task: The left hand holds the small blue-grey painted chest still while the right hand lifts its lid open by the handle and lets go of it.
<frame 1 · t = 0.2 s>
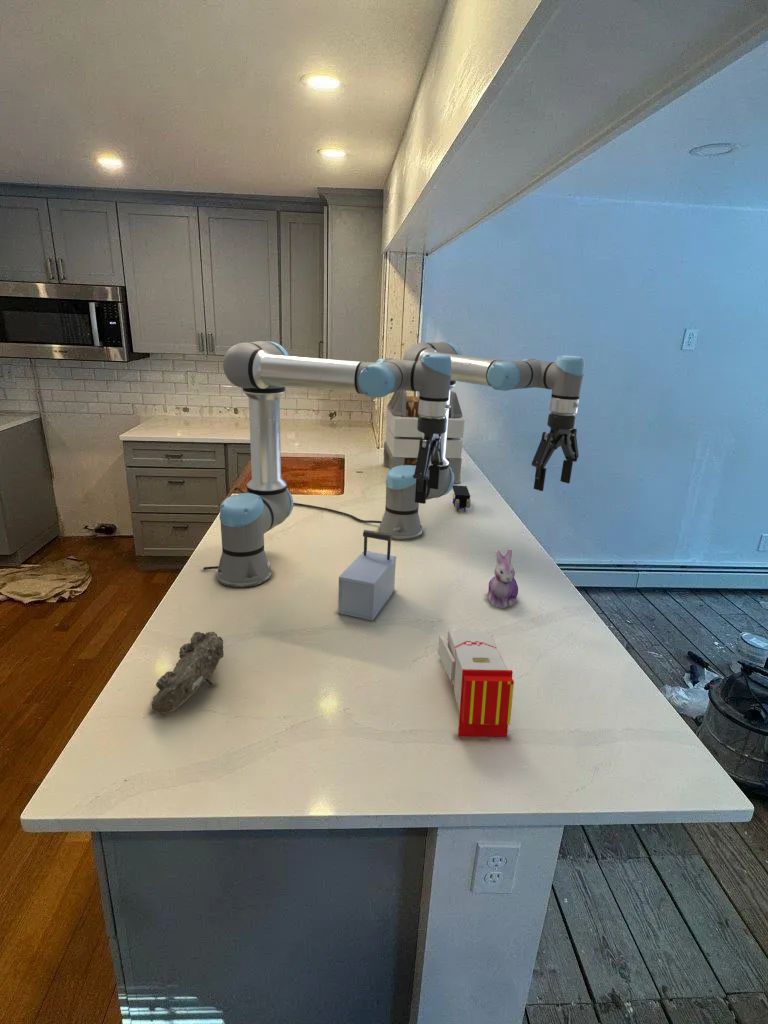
left hand: (427, 495, 152), 28 cm above the counter, tool pointing down, fingers open, 13 cm apart
right hand: (551, 486, 166), 28 cm above the counter, tool pointing down, fingers open, 13 cm apart
light grey slatted box: (419, 473, 275), on the counter
toy: (469, 691, 119), on the counter
figurine: (502, 601, 156), on the counter
figurine character: (460, 507, 229), on the counter
fossil: (194, 683, 117), on the counter
chest: (367, 601, 153), on the counter
lid: (369, 554, 149), point 14 cm above the counter, hinge at 0.0°
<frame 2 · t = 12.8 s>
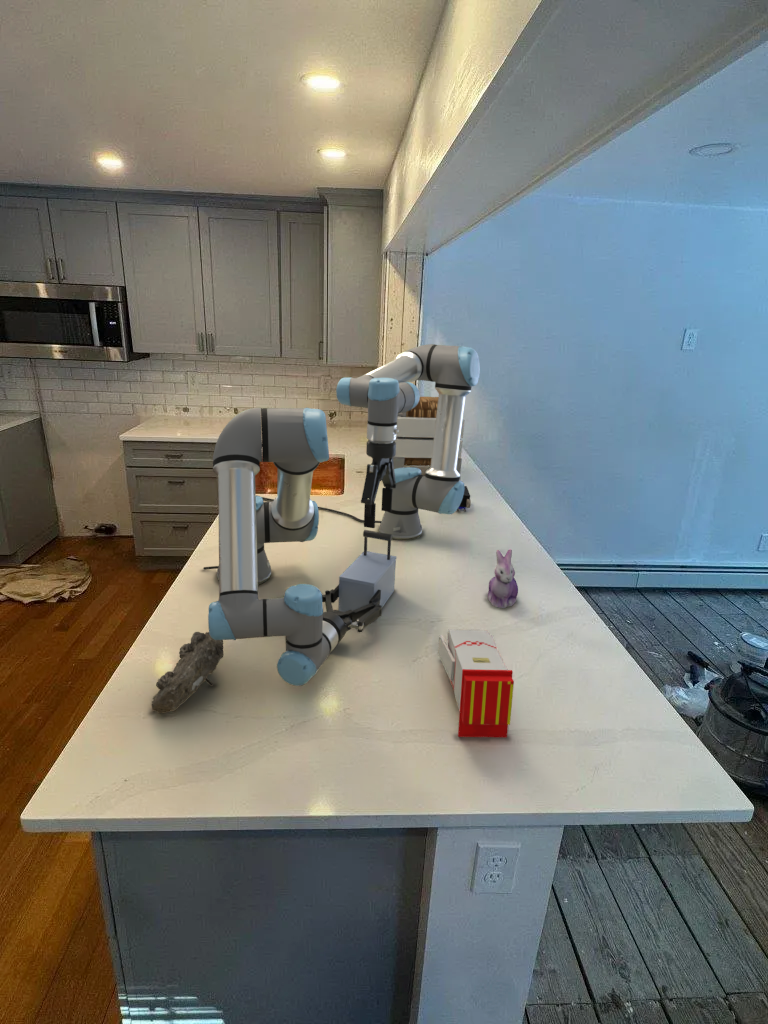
left hand: (360, 590, 146), 6 cm above the counter, tool horizontal, fingers closed on chest, 9 cm apart
right hand: (378, 518, 151), 22 cm above the counter, tool pointing down, fingers open, 13 cm apart
chest: (367, 601, 153), on the counter, touching left hand
everything else where it was.
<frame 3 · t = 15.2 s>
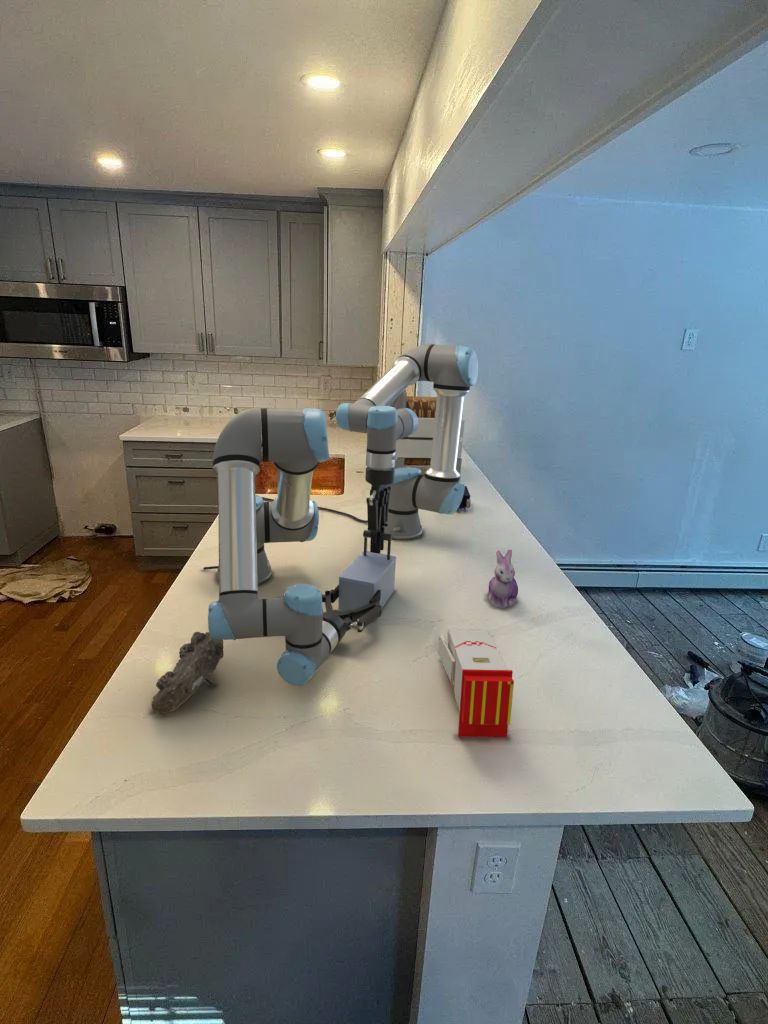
left hand: (360, 590, 146), 6 cm above the counter, tool horizontal, fingers closed on chest, 9 cm apart
right hand: (376, 550, 154), 12 cm above the counter, tool pointing down, fingers closed on lid, 2 cm apart
chest: (367, 601, 153), on the counter, touching left hand
lid: (369, 554, 149), point 14 cm above the counter, hinge at -0.1°, touching right hand
everything else where it was.
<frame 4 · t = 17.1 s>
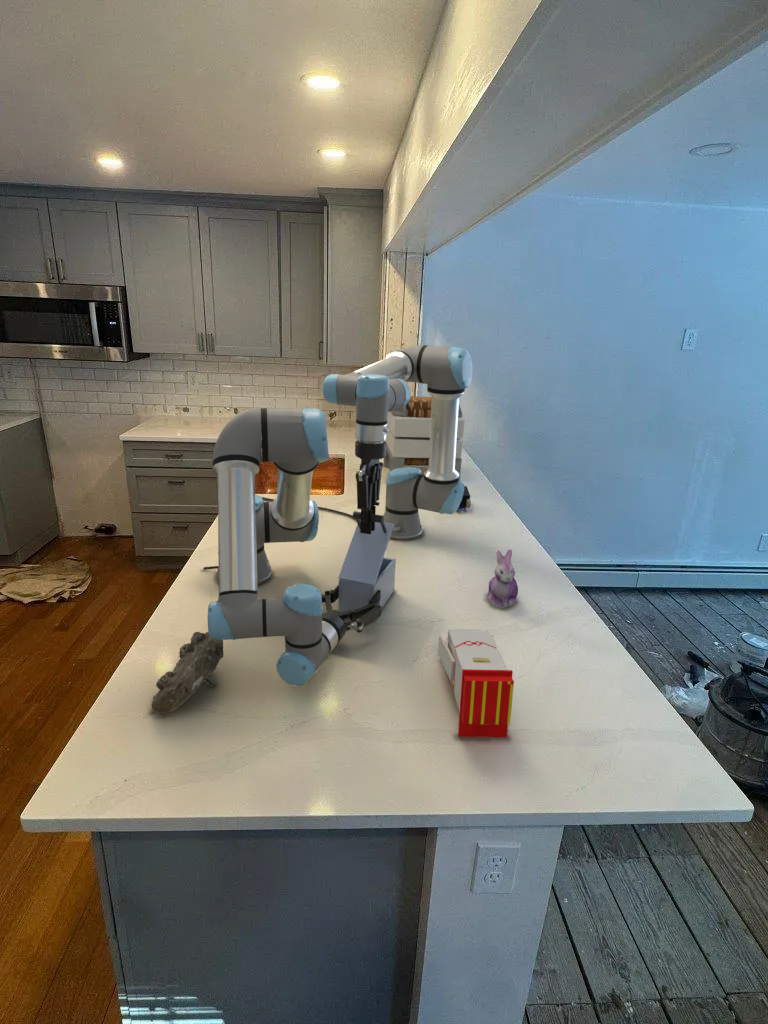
left hand: (360, 591, 146), 6 cm above the counter, tool horizontal, fingers closed on chest, 9 cm apart
right hand: (367, 531, 144), 21 cm above the counter, tool pointing down, fingers closed on lid, 2 cm apart
chest: (367, 601, 153), on the counter, touching left hand
lid: (363, 543, 143), point 19 cm above the counter, hinge at 38.9°, touching right hand
everything else where it was.
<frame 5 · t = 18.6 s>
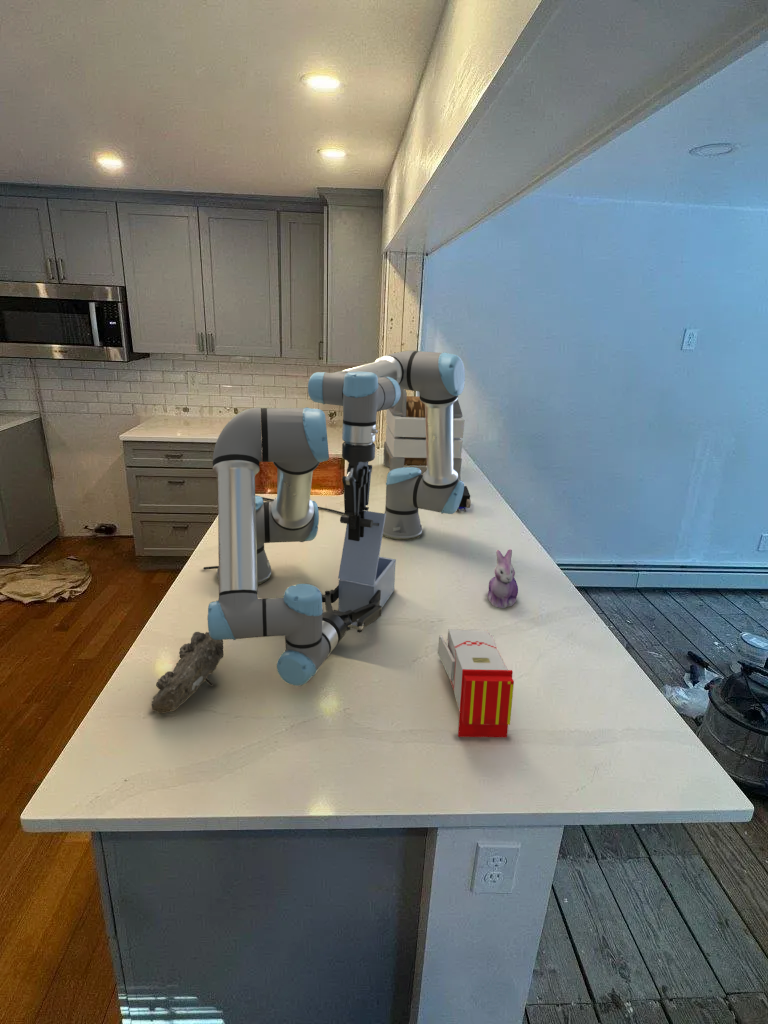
left hand: (360, 591, 146), 6 cm above the counter, tool horizontal, fingers closed on chest, 9 cm apart
right hand: (356, 537, 137), 22 cm above the counter, tool pointing down, fingers open, 2 cm apart
chest: (367, 601, 153), on the counter, touching left hand
lid: (356, 546, 138), point 20 cm above the counter, hinge at 68.1°
everything else where it was.
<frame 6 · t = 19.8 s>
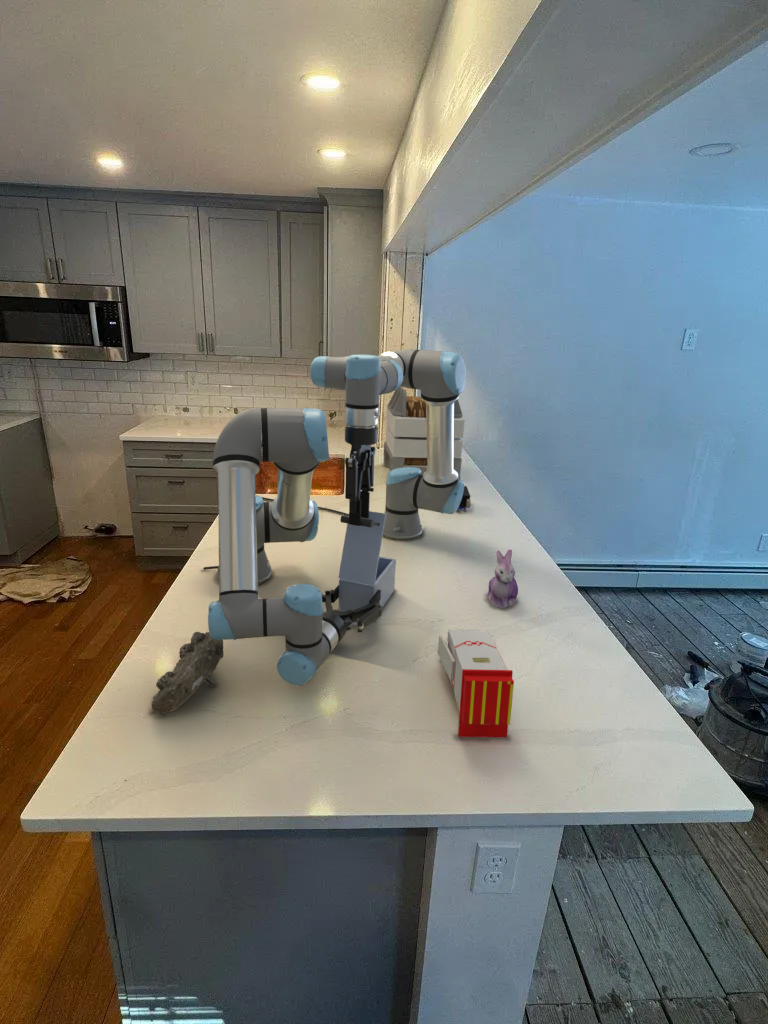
left hand: (360, 590, 146), 6 cm above the counter, tool horizontal, fingers closed on chest, 9 cm apart
right hand: (359, 520, 137), 26 cm above the counter, tool pointing down, fingers open, 5 cm apart
chest: (367, 601, 153), on the counter, touching left hand
lid: (357, 546, 138), point 20 cm above the counter, hinge at 67.6°, touching right hand
everything else where it was.
when the left hand's fingers open (6 cm above the counter, at t = 22.7 s): chest stays where it is, on the counter.
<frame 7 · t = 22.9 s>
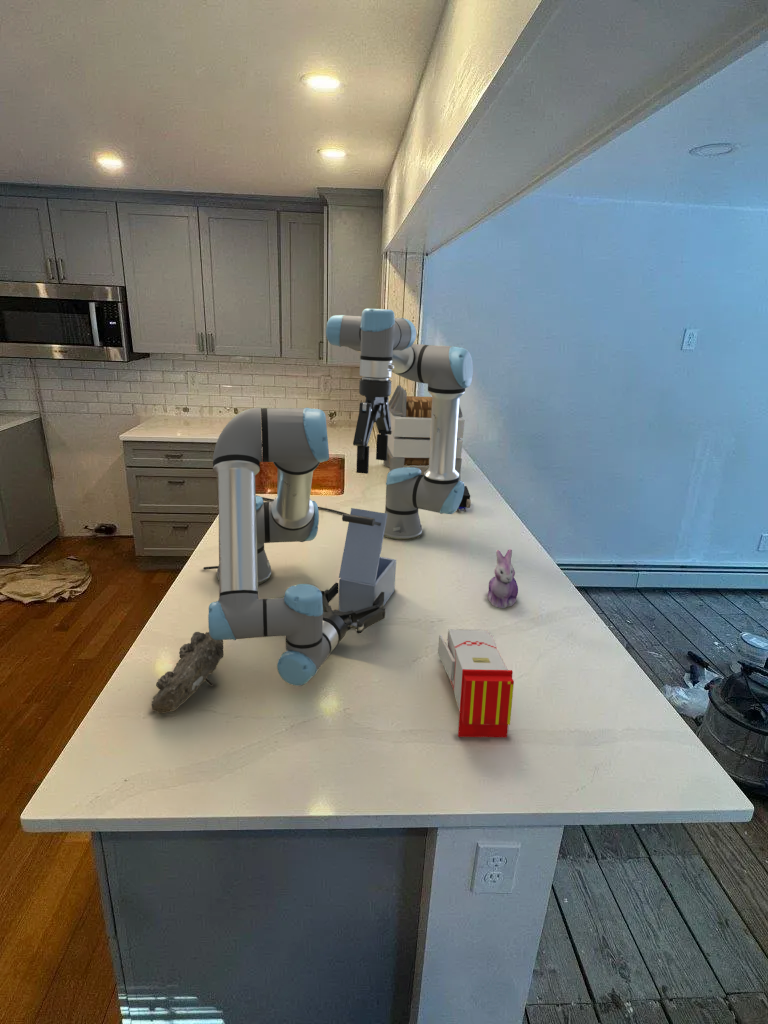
left hand: (359, 591, 145), 6 cm above the counter, tool horizontal, fingers open, 12 cm apart
right hand: (372, 466, 140), 38 cm above the counter, tool pointing down, fingers open, 13 cm apart
chest: (367, 601, 153), on the counter
lid: (358, 545, 139), point 20 cm above the counter, hinge at 66.0°
everything else where it was.
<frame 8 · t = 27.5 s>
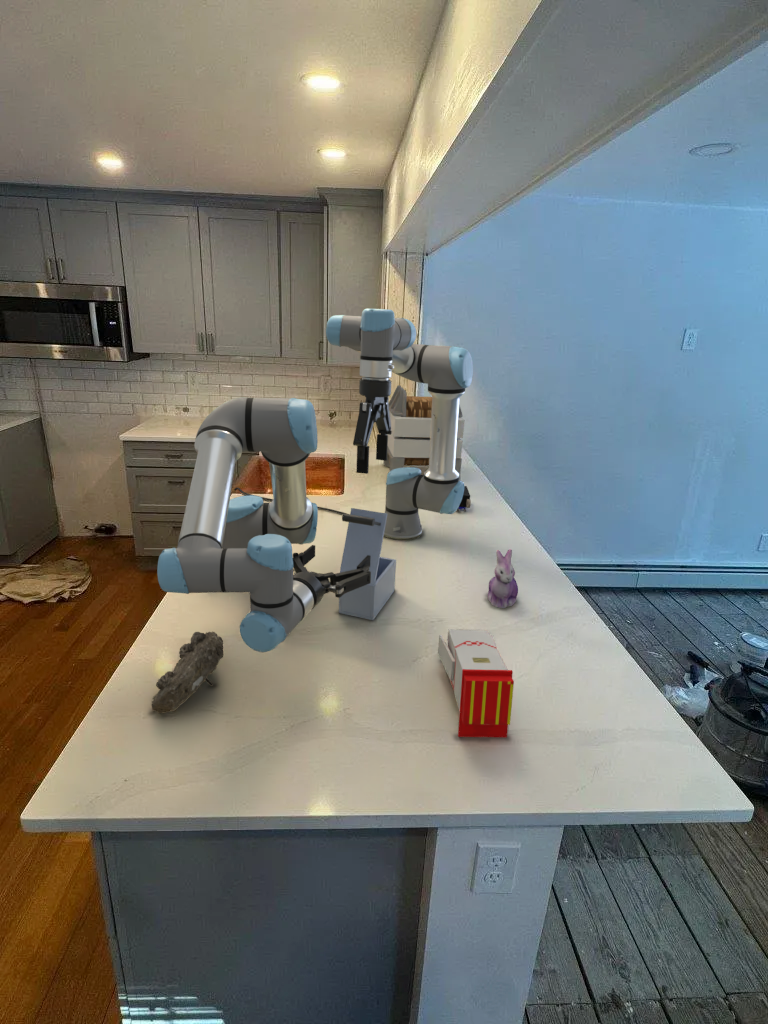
left hand: (341, 555, 129), 21 cm above the counter, tool horizontal, fingers open, 13 cm apart
right hand: (372, 466, 140), 38 cm above the counter, tool pointing down, fingers open, 13 cm apart
nothing on the counter moved.
at the end: lid at +66° (first picture: +0°); the left hand is holding nothing; the right hand is holding nothing; chest tilted 0°; chest never tilted more than 1° during the clip; chest moved 0.2 cm from its start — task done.
